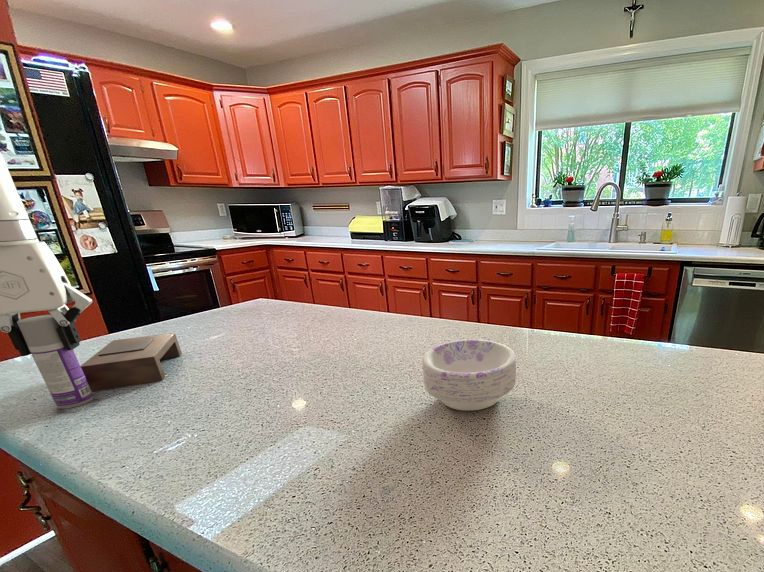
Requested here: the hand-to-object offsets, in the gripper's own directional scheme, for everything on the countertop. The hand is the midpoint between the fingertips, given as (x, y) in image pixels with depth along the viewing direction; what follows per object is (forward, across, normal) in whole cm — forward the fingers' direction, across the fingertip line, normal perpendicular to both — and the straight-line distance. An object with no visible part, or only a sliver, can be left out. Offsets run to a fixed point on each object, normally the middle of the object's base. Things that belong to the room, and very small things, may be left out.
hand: (51, 349), depth 65 cm
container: (+10, 0, 0) cm, 10 cm away
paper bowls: (+10, +62, -29) cm, 69 cm away
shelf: (+10, +6, +12) cm, 17 cm away
